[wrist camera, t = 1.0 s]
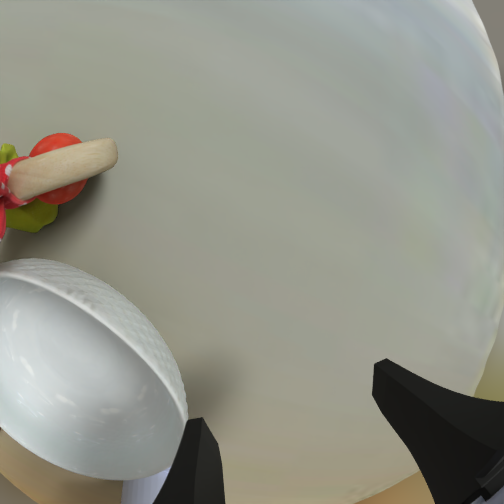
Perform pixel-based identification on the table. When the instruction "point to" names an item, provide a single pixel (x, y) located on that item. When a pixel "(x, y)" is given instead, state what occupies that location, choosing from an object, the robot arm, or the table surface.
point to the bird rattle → (48, 178)
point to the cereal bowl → (85, 374)
